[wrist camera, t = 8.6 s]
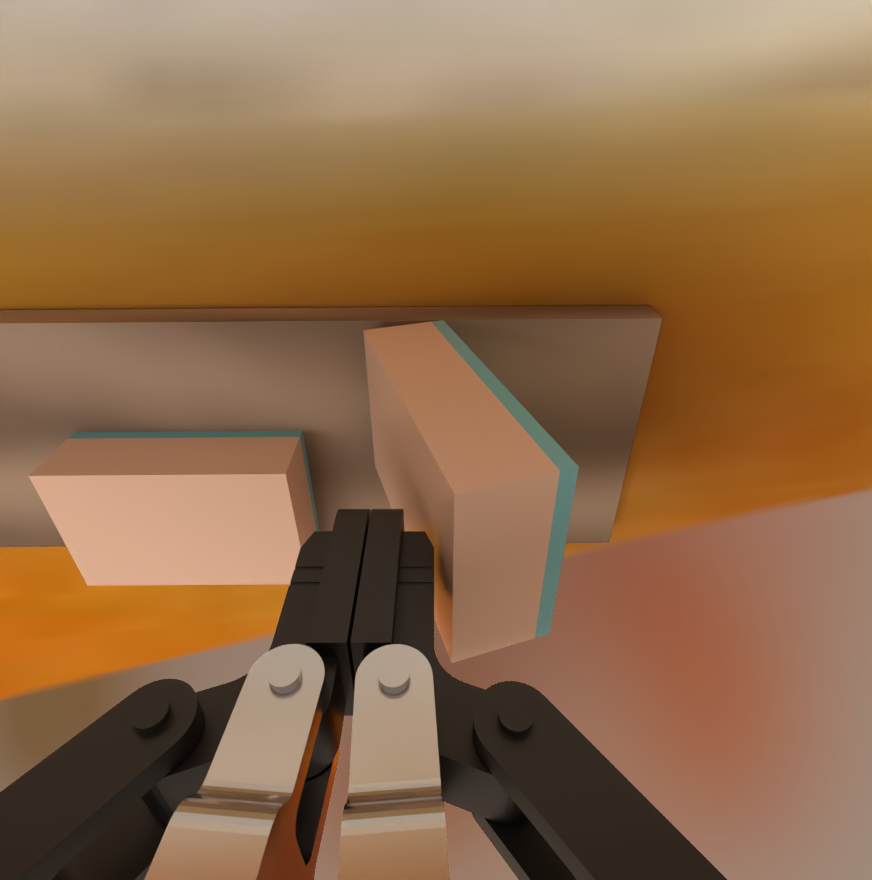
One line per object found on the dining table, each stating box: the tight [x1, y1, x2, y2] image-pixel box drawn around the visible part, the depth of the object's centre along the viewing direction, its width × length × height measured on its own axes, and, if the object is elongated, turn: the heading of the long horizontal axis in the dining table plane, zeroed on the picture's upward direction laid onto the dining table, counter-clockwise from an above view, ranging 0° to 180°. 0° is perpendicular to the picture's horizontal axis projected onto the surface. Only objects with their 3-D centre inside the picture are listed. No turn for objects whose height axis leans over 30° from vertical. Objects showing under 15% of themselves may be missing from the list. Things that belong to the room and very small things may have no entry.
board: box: [0, 305, 662, 547], centre depth 20 cm, size 10×28×1 cm, turn 90°
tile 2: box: [363, 320, 579, 663], centre depth 14 cm, size 5×2×8 cm, turn 0°
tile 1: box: [29, 431, 320, 586], centre depth 19 cm, size 5×2×8 cm
